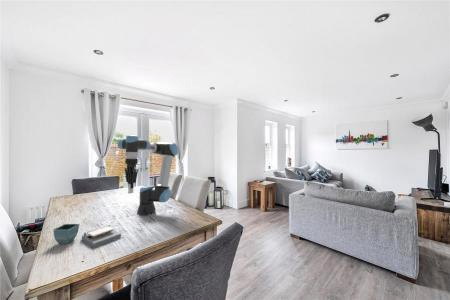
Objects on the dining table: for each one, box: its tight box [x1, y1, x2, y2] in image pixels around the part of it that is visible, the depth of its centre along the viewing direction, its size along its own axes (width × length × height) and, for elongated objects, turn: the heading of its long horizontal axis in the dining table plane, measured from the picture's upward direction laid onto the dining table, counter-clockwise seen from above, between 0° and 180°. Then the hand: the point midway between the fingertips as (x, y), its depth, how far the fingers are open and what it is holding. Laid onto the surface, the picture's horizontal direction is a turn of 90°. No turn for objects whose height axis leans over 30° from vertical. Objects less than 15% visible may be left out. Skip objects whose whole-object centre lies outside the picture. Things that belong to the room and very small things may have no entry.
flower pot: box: [52, 223, 80, 244], centre depth 109 cm, size 9×9×9 cm
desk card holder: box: [81, 224, 122, 249], centre depth 114 cm, size 16×15×5 cm
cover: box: [86, 225, 115, 236], centre depth 115 cm, size 8×12×1 cm
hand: (130, 193), depth 124 cm, fingers closed
